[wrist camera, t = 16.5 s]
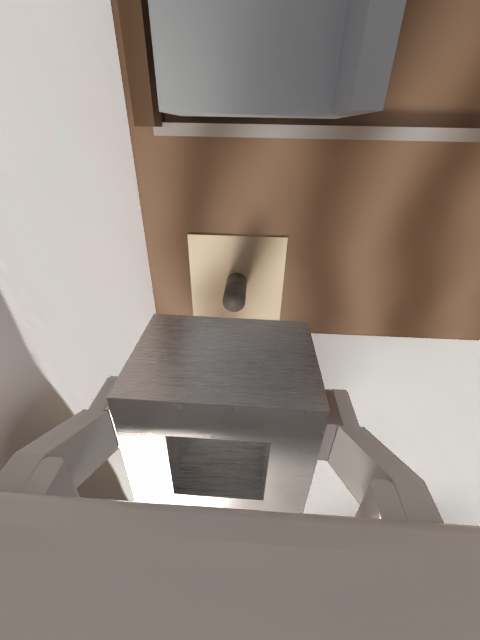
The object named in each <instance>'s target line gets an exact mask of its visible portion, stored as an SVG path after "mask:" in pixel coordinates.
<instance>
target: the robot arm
mask: <svg viewBox="0 0 480 640" xmlns="http://www.w3.org/2000/svg"><path fill="white" fill-rule="evenodd" d="M117 378H118V376H110V377H109V378H107V380H106V382H105V383H104V385H103V386H102V388H101V390H100V391H99V393H98V394H97V396H96V398H95V399H94V401H93V403H92V404H91V406H90V407H89V409H88V410H85V409H84V410H82V411H81V412H79V413H78V414H76V415H74V416H73V417H71V418H70V419H68V420H66V421H65V422H63V423H62V424H60V425H59V426H57V427H55V428H54V429H52V430H51V431H49V432H47V433H46V434H44V435H43V436H41V437H39V438H38V439H36V440H35V441H33V442H31V443H30V444H28V445H27V446H25V447H23V448H22V449H20V450H19V451H17V452H16V453H14V455H13V456H12V457H11V459H10V460H9V461H8V463H7V464H6V465H5V467H4V468H3V469H2V471H1V472H0V640H480V526H471V525H457V524H444V522H443V520H442V518H441V516H440V514H439V511H438V509H437V507H436V505H435V503H434V501H433V499H432V497H431V494H430V492H429V490H428V488H427V486H426V484H425V482H424V481H423V480H422V479H421V478H420V477H419V476H418V475H417V474H416V473H415V472H413V471H412V470H411V469H410V468H409V467H408V466H407V465H406V464H405V463H403V462H402V461H401V460H400V459H399V458H398V457H397V456H396V455H395V454H393V453H392V452H391V451H390V450H389V449H388V448H387V447H386V446H384V445H383V444H382V443H381V442H380V441H379V440H378V439H377V438H376V437H374V436H373V435H372V434H371V433H370V432H369V431H368V430H367V429H366V428H364V427H360V426H359V423H358V420H357V417H356V415H355V412H354V409H353V406H352V403H351V400H350V397H349V394H348V392H347V391H346V390H335V389H332V390H331V389H325V392H326V396H327V400H328V404H329V408H330V415H329V418H328V422H327V426H326V430H325V433H324V437H323V441H322V444H321V448H320V452H319V456H318V459H317V460H325V461H328V463H329V464H330V466H331V467H332V468H333V470H334V471H335V472H336V474H337V475H338V476H339V478H340V479H341V480H342V482H343V483H344V484H345V486H346V487H347V488H348V490H349V491H350V492H351V494H352V495H353V496H354V498H355V499H356V500H357V502H358V503H359V504H360V507H359V509H358V511H357V513H356V516H355V517H346V516H332V515H318V514H304V513H290V512H275V511H261V510H247V509H233V508H219V507H205V506H191V505H177V504H164V503H150V502H136V501H122V500H108V499H94V498H80V497H79V495H78V492H77V490H76V488H77V487H78V486H79V485H80V484H81V483H82V482H83V481H84V480H85V479H86V478H88V477H89V476H90V475H91V474H92V473H93V472H94V471H95V470H96V469H97V468H98V467H99V466H100V465H101V464H102V463H103V462H104V461H106V460H107V459H108V458H109V457H110V456H111V455H112V454H113V453H114V452H115V451H116V450H117V449H118V447H120V445H119V441H118V438H117V434H116V431H115V427H114V424H113V420H112V416H111V413H110V409H109V406H108V402H107V399H106V397H107V395H108V394H109V392H110V390H111V388H112V387H113V385H114V383H115V381H116V380H117Z"/></svg>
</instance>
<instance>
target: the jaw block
mask: <svg viewBox="0 0 480 640" xmlns="http://www.w3.org/2000/svg"><path fill="white" fill-rule="evenodd" d="M106 399H107V402H108V406H109V409H110V413H111V416H112V420H113V424H114V427H115V431H116V434H117V438H118V441H119V445H120V449H121V452H122V456H123V459H124V463H125V466H126V470H127V473H128V477H129V481H130V484H131V488H132V491H133V495H134V498H135V501H136V502H150V503H164V504H177V505H191V506H205V507H219V508H233V509H247V510H261V511H275V512H290V513H303V511H304V508H305V504H306V500H307V497H308V493H309V489H310V485H311V482H312V478H313V474H314V471H315V467H316V463H317V459H318V456H319V452H320V448H321V444H322V441H323V437H324V433H325V430H326V426H327V422H328V418H329V415H330V408H329V404H328V400H327V396H326V392H325V388H324V384H323V380H322V376H321V372H320V368H319V365H318V361H317V357H316V353H315V349H314V345H313V341H312V337H311V333H310V329H309V325H308V322H301V321H282V320H263V319H244V318H226V317H207V316H188V315H169V314H154V315H153V317H152V318H151V320H150V322H149V324H148V325H147V327H146V329H145V331H144V332H143V334H142V336H141V338H140V339H139V341H138V343H137V345H136V346H135V348H134V350H133V352H132V353H131V355H130V357H129V359H128V360H127V362H126V364H125V366H124V367H123V369H122V371H121V373H120V374H119V376H118V378H117V380H116V381H115V383H114V385H113V387H112V388H111V390H110V392H109V394H108V395H107V397H106Z"/></svg>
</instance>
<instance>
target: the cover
mask: <svg viewBox="0 0 480 640" xmlns="http://www.w3.org/2000/svg"><path fill="white" fill-rule="evenodd" d="M406 1H407V0H148V7H149V17H150V27H151V37H152V46H153V56H154V66H155V76H156V86H157V96H158V106H159V112H163V113H168V114H173V115H178V116H202V117H258V118H314V119H337V118H343V117H349V116H355V115H361V114H366V113H372V112H378V111H383V108H384V103H385V98H386V94H387V89H388V84H389V80H390V75H391V70H392V66H393V61H394V57H395V52H396V47H397V43H398V38H399V33H400V29H401V24H402V19H403V15H404V10H405V6H406Z"/></svg>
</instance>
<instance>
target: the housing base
mask: <svg viewBox="0 0 480 640" xmlns="http://www.w3.org/2000/svg"><path fill="white" fill-rule="evenodd" d="M111 6H112V13H113V20H114V27H115V34H116V41H117V47H118V54H119V61H120V68H121V75H122V82H123V89H124V95H125V102H126V109H127V116H128V123H129V130H130V136H131V143H132V150H133V157H134V164H135V171H136V177H137V184H138V191H139V198H140V205H141V212H142V218H143V225H144V232H145V239H146V246H147V253H148V260H149V266H150V273H151V280H152V287H153V294H154V301H155V307H156V314H169V315H188V316H207V317H226V318H244V319H263V320H282V321H301V322H308V325H309V329H310V333H321V334H344V335H367V336H391V337H414V338H437V339H460V340H479V339H480V0H407V1H406V6H405V10H404V15H403V19H402V24H401V29H400V33H399V38H398V43H397V47H396V52H395V57H394V61H393V66H392V70H391V75H390V80H389V84H388V89H387V94H386V98H385V103H384V108H383V111H378V112H372V113H366V114H361V115H355V116H349V117H343V118H337V119H314V118H258V117H202V116H178V115H173V114H168V113H163V112H159V106H158V96H157V86H156V76H155V66H154V56H153V46H152V37H151V27H150V17H149V7H148V0H111Z"/></svg>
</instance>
